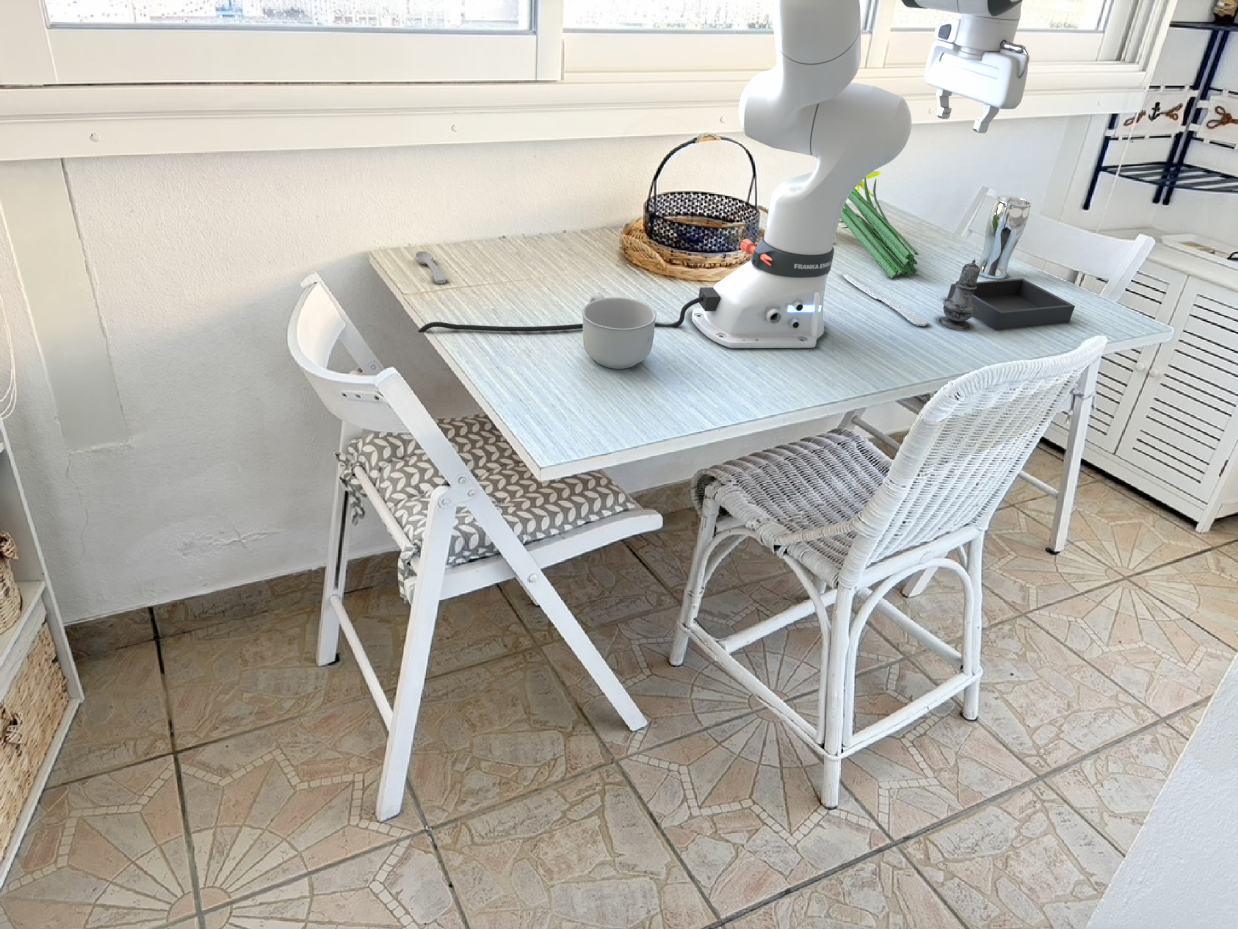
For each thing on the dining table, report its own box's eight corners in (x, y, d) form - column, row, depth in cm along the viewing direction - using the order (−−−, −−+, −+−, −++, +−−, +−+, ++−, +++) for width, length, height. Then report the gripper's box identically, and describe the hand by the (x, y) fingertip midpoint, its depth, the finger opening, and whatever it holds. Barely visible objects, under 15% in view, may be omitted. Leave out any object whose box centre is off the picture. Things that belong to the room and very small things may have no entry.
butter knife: (917, 324, 159) (930, 323, 160) (837, 273, 177) (850, 272, 178) (916, 327, 159) (930, 325, 161) (837, 275, 177) (849, 274, 179)
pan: (995, 330, 162) (1001, 312, 160) (946, 300, 172) (951, 283, 170) (1069, 322, 168) (1075, 305, 167) (1017, 293, 178) (1022, 278, 177)
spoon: (428, 257, 166) (428, 246, 165) (449, 286, 158) (449, 275, 157) (412, 258, 165) (412, 248, 164) (433, 288, 157) (433, 277, 156)
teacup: (660, 374, 136) (666, 324, 131) (589, 378, 132) (593, 327, 128) (632, 334, 147) (637, 286, 142) (566, 337, 144) (569, 288, 139)
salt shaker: (973, 333, 160) (994, 267, 153) (938, 327, 161) (958, 262, 154) (969, 320, 165) (990, 256, 158) (935, 314, 165) (955, 250, 159)
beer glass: (1015, 277, 187) (1039, 203, 179) (994, 281, 183) (1018, 207, 175) (986, 265, 191) (1009, 193, 183) (965, 269, 188) (988, 196, 180)
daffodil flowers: (856, 284, 177) (777, 184, 198) (892, 312, 187) (813, 213, 208) (925, 219, 170) (835, 122, 191) (959, 251, 180) (870, 155, 201)
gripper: (1047, 47, 141) (1018, 140, 148) (959, 25, 156) (936, 110, 164) (1016, 46, 138) (988, 141, 146) (929, 24, 154) (908, 110, 161)
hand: (960, 124), depth 155 cm, fingers open, 8 cm apart
